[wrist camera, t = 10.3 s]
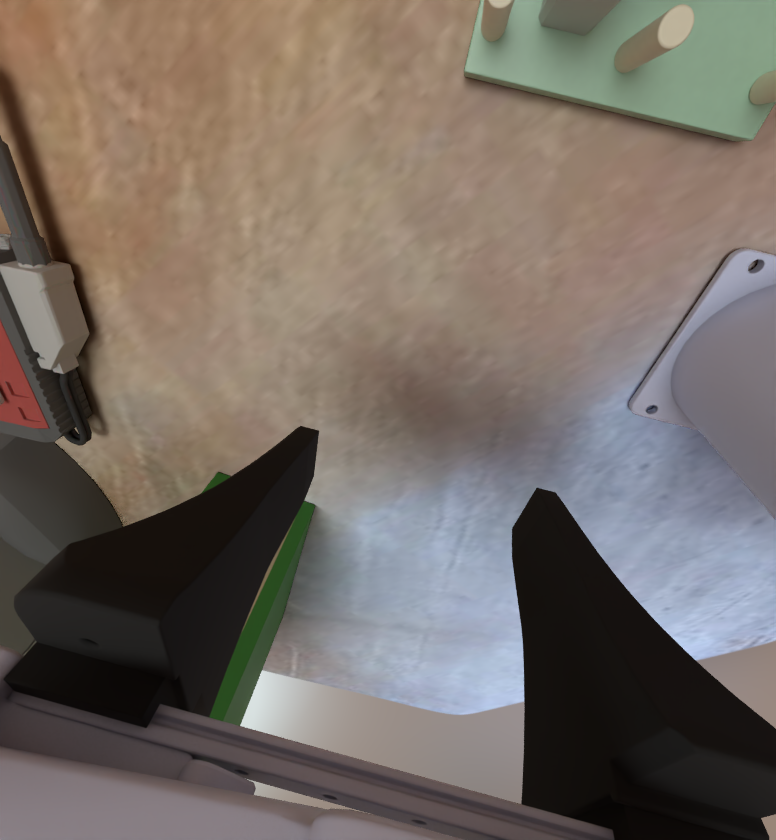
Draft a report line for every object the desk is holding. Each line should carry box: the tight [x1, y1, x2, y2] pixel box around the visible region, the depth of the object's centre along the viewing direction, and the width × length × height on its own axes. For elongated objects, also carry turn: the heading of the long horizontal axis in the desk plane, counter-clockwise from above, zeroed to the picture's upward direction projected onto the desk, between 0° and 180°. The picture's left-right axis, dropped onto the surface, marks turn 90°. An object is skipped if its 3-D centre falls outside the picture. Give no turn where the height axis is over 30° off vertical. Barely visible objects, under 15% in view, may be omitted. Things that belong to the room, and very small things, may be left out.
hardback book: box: [202, 472, 315, 726], centre depth 23 cm, size 18×7×24 cm, turn 163°
